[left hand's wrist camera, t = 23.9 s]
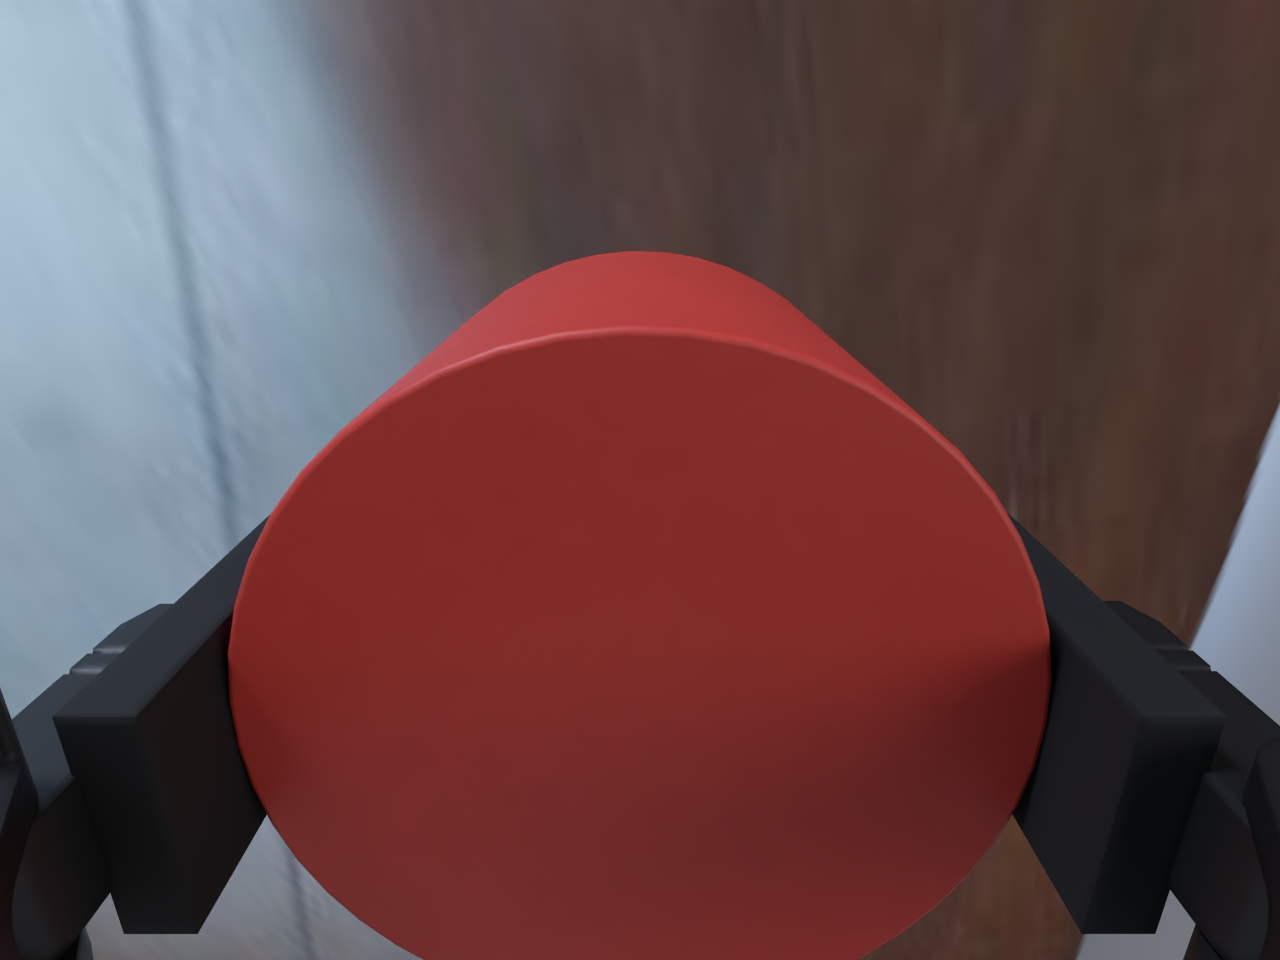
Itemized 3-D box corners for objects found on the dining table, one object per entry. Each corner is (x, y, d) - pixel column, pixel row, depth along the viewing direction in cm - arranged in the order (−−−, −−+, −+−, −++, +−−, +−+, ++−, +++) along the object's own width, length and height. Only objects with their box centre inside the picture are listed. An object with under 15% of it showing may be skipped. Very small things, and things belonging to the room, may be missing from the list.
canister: (964, 397, 15) (1239, 588, 8) (721, 740, 18) (772, 1092, 11) (530, 151, 13) (414, 131, 6) (342, 571, 16) (126, 861, 9)
